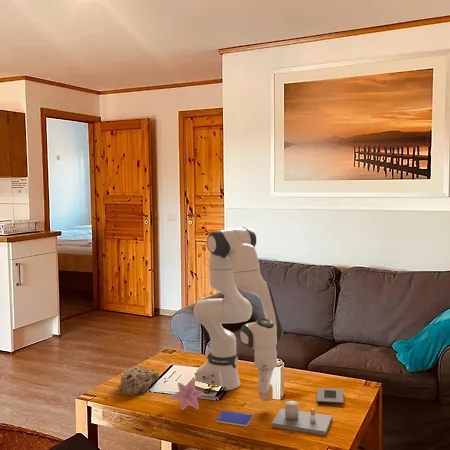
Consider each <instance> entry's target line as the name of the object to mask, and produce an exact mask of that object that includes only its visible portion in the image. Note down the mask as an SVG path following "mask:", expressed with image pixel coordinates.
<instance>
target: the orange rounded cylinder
mask: <svg viewBox="0 0 450 450" xmlns="http://www.w3.org/2000/svg"><path fill="white" fill-rule="evenodd" d="M273 391H274V389H273V385H272V384H271V383H270V386H269V390H268V393H267V399H263V394H262V393H259V400H260V401H263V402H269V401H273V399H274V397H273V395H274V393H273Z"/></svg>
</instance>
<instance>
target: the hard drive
mask: <svg viewBox="0 0 450 450" xmlns="http://www.w3.org/2000/svg"><path fill="white" fill-rule="evenodd" d="M253 418H254V415H253V414H247V413H241V412H235V411H228V410H222V411H221V412H220V414H218V416H217V417H216V418H215V422H216V423H223V424H229V425H235V426H241V427H247V426H249V424H250V423H251V421H252V420H253Z"/></svg>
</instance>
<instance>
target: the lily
mask: <svg viewBox="0 0 450 450" xmlns="http://www.w3.org/2000/svg"><path fill="white" fill-rule="evenodd" d="M177 386H178V391H177V392H175V393H173V394H172V395H171V397H170V398H171V399H173V400H175V401H180V408H181V409H180V410H181V411H184V410H185V409H186V408H187V407H188V406H190V407H192V408H194V409H196V410H199V409H200V406H199V405H200V404H199V402H198V398H199V397H200V396H201V395H202V394H204V392H203V391H200V390H196V387H195V379H193V378H192V379H190V381H189V382H188V383H187V384H186V385H184V384H183V383H182V382H181V383H180V382H177Z"/></svg>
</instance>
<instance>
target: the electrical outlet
mask: <svg viewBox="0 0 450 450" xmlns="http://www.w3.org/2000/svg"><path fill="white" fill-rule="evenodd" d="M316 392H317V393H316V402H317V403H323V404H336V405H337V404H340V405H341V404H344V402H345V401H344V389H343V388H329V387H327V388H326V387H317V391H316Z"/></svg>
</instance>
